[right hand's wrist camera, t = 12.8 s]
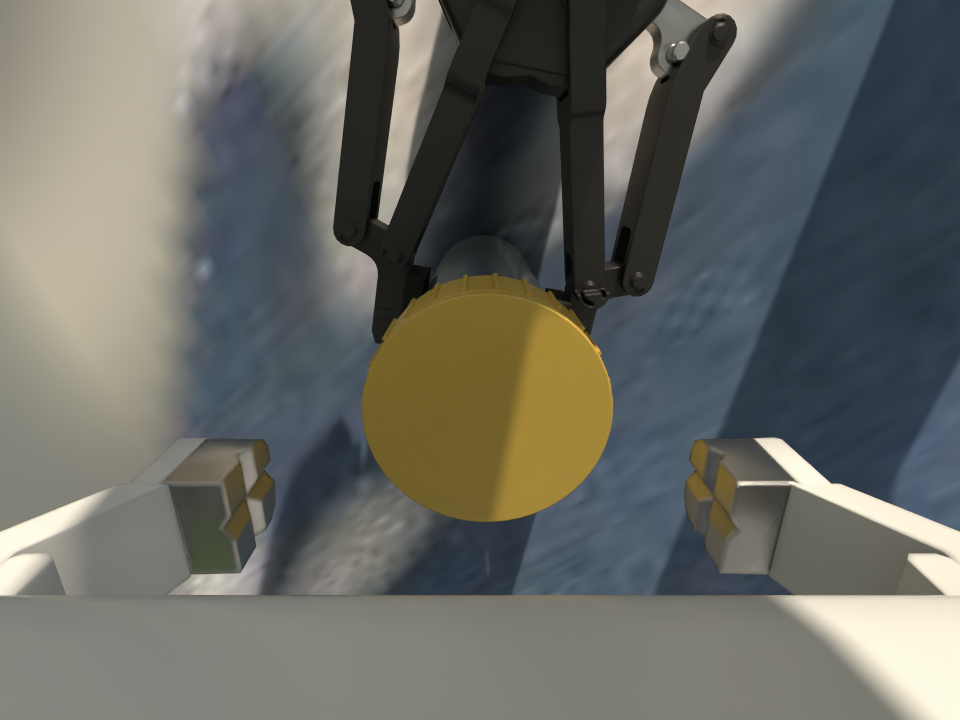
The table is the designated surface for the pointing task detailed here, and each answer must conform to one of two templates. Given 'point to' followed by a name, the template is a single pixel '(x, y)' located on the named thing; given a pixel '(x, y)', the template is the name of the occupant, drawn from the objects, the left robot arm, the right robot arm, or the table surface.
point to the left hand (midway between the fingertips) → (464, 422)
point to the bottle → (482, 261)
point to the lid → (487, 400)
